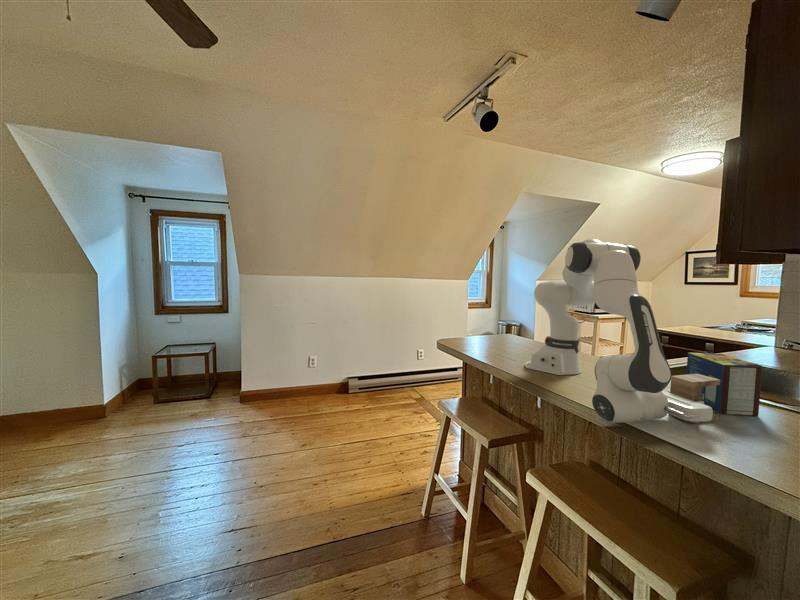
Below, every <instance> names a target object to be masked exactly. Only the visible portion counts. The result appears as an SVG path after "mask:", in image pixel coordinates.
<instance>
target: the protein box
mask: <svg viewBox="0 0 800 600" xmlns="http://www.w3.org/2000/svg"><path fill="white" fill-rule="evenodd" d="M686 361H687V362H686V374H685V375H687V374H700V375H704V376H708V377H712V378H715V379H719V380H720V385H715V386H704V387H701V397H700V400H701V401H703V402H704V405H707V406H710V407H711V408H712V410H713V412H714V413H717V414H718V413H719V414H718V415H725V414H733V415H732V416H743V415H745V416H744V417H746V416H747V417H759V413H760V398H761V390H762V389H761V388H762V375H763V365H761V364H758V363H755V362H751V361H747V360H744V359H740V358H737V357H733V356H730V355H727V354H724V353H712V352H709V353H708V352H707V353H706V352H705V353H704V352H687V360H686Z"/></svg>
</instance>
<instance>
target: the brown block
mask: <svg viewBox="0 0 800 600" xmlns="http://www.w3.org/2000/svg"><path fill="white" fill-rule="evenodd" d="M715 385H720V380H719V379H715V378H712V377H708V376H704V375H700V374H687V375H686V374H678V375H676V374H675V375H672V376H671V380H670V388H669V390H670V393H672V394H675V395H678V396H681V397H684V398H687V399H690V400H693V401H694V400H700V397H701V387H704V386H715ZM668 416H670V417H672V418H675V419H677V420H679V421H682V422H684V423H687V424H689V425H692V424H701V423H709V422H715V421H718V414H714V413H713V416H712V420H711V421H702V422H692V421H686V420H683V419H680V418H678V417H675V416H673V415H671V414H668Z"/></svg>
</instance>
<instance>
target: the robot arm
mask: <svg viewBox="0 0 800 600" xmlns="http://www.w3.org/2000/svg"><path fill="white" fill-rule="evenodd" d="M564 263H565V266H564V267H563V269H562V271H561V272H562V273H561V274H562V279H563V280H549V281H543V282H540V283H538V284H537V285H536V286H535V289H534V291H533V296H534V299H535V301H536V302H537V304H539V305H540V306H541V307H542V308H544V310H545V312H546V313H547V315H548V318H549V335H547V336H546V337H545V339H544V345H542V346H540V347H539V348H537V349H536V350H535V351H533V352H532V353H531V356H530V360H528V361H526V362H524V367H525V368H526V369H529V370H535V371H538V372H544V373H548V374H552V375H557V376H564V375H566V376H567V375H568V376H569V375H580V374H582V370H581V367H580V366H581V365H580V359H579V352H580V344H581V343H580V339H579V334H580V333H579V332H580V322H579V320H578V319H577V318H576V317H574V316H573V315H572V314H569V313H568V312H567V309H566V308H568V307H573V308H574V307H575V308H577V307H578V308H579V307H581V308H582V307H588V306H593V305H596V306H597V307H598V308H599V309H601V310H602V311H603V312H606V313H608V314H612V315H615V316H619V317H620V316H621V317H623V318H625V319H626V320H627V321H628V323H629V327H630V331H631V335H632V340H633V345H634V351H633V352H632V353H626V354H615V355H604V356H602V357H600V358H599V359H598V360H597V362H596V363H595V366H594V376H595V379H596V380H595V381H596V388H595V392H594V394H593V395H592V398H591V403H592V408H593V409H594V411H595V413H596V414H597V415H598V416H599V417H600V418H602V419H603V420H605V421H607V422H610V423H616V424H617V423H619V424H620V423H623V424H625V423H634V422H638V421H650V420H658V419H663V418H665V417H666V416H668V415H669V414H671V415H673V416H675V417H678V418H680V419H683V420H686V421H692V422H702V421H709V422H712V421H711V420H712V416H713V414H714V413H713V412H714V411H713V410H712V408H711V407H710V406H707V405H704V402H703V401H701V400H694V401H693V400H690V399H687V398H684V397H681V396H678V395H675V394H672V393H670V389H669V390H667V389H666V388H667V387H668V386H669V384H670V383H671V376H673V374H672V370H671V366H670V365H669V362H668V360H667V358H666V356H665V355H666V354H665V353H664V350H663V346H662V342H661V338H660V335H659V331H658V327H657V323H656V319H655V316H654V312H653V308H652V306H651V304H650V302H649V301H648V299H647V298H646V297H644V296H642V295H641V294H640V292H639V289H638V281H637V280H638V278H637V273H636V272H637V270H638V269H639V267H640V264H641V253H640V251H639V249H638V248H637V247H636V246H633V245H629V244H626V243H625V244H621V243H613V242H606V241H605V242H602V241H601V240H599V239H595V238H587V239H584V240H582V241H580V242H573V243H572V244H570V246H569V247H568V249H567V251H566V252H565V256H564ZM702 423H703V422H702Z"/></svg>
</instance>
